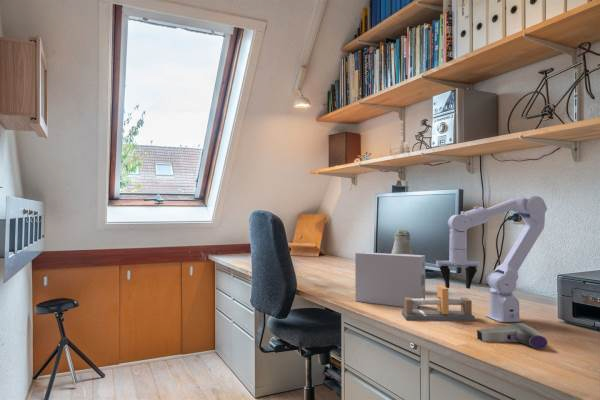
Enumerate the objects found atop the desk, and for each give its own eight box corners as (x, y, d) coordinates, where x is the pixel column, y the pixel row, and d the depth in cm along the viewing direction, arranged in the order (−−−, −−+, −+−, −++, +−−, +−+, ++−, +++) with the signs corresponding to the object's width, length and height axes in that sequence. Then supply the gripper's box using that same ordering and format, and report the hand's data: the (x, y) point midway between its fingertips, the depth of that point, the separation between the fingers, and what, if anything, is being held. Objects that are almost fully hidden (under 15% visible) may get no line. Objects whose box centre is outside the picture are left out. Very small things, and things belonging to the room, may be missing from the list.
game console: (360, 298, 182) (360, 251, 183) (425, 306, 168) (425, 255, 169) (355, 301, 177) (355, 252, 178) (421, 309, 163) (421, 256, 164)
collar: (442, 309, 154) (442, 285, 154) (448, 314, 147) (448, 288, 147) (437, 309, 154) (437, 285, 154) (442, 314, 147) (442, 288, 147)
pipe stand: (466, 315, 154) (466, 296, 154) (474, 321, 146) (474, 301, 146) (401, 314, 155) (401, 295, 155) (406, 320, 147) (406, 300, 147)
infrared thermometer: (476, 341, 128) (525, 337, 128) (495, 355, 116) (550, 350, 116) (474, 325, 128) (524, 321, 128) (494, 338, 116) (549, 333, 116)
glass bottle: (390, 291, 197) (389, 230, 198) (392, 287, 207) (392, 229, 208) (412, 293, 194) (411, 230, 195) (413, 289, 204) (413, 229, 204)
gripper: (475, 248, 154) (474, 286, 154) (434, 247, 155) (433, 285, 155) (482, 250, 147) (482, 290, 147) (439, 249, 148) (438, 288, 148)
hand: (457, 287), depth 150 cm, fingers open, 6 cm apart
